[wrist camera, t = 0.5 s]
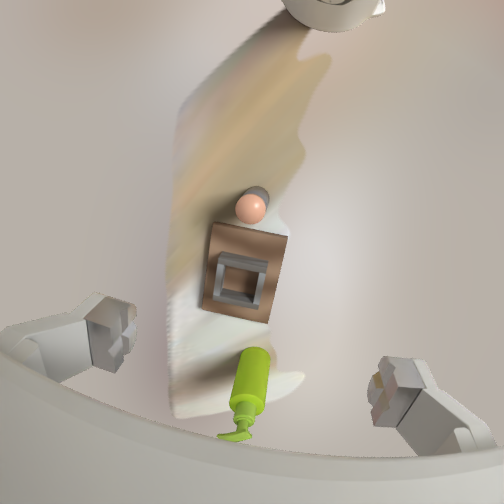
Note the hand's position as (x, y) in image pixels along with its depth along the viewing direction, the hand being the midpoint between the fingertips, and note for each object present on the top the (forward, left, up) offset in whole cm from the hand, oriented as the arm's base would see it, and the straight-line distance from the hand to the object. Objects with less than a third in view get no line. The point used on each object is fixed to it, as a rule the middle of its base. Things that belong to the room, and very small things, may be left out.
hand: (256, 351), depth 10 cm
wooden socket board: (+17, -4, -41) cm, 45 cm away
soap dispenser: (+35, +1, -42) cm, 54 cm away
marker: (+4, -4, -41) cm, 42 cm away
